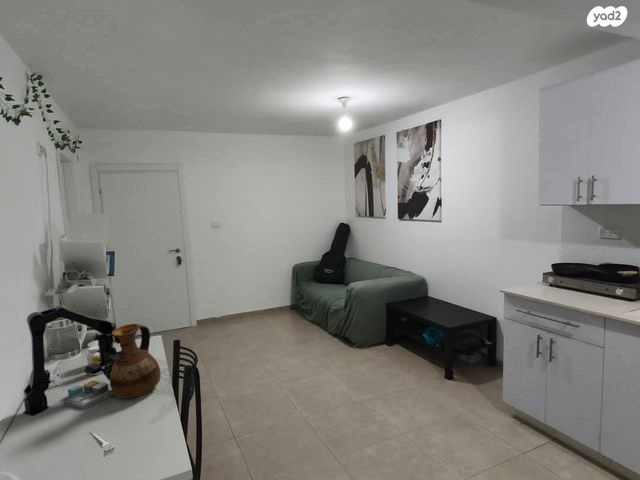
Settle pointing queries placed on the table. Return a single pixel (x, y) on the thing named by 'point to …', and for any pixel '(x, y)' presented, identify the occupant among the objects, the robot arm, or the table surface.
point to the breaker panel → (86, 399)
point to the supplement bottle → (93, 357)
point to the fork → (102, 442)
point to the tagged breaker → (89, 386)
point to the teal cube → (75, 390)
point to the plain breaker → (100, 388)
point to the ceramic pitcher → (133, 363)
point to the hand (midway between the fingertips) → (109, 379)
